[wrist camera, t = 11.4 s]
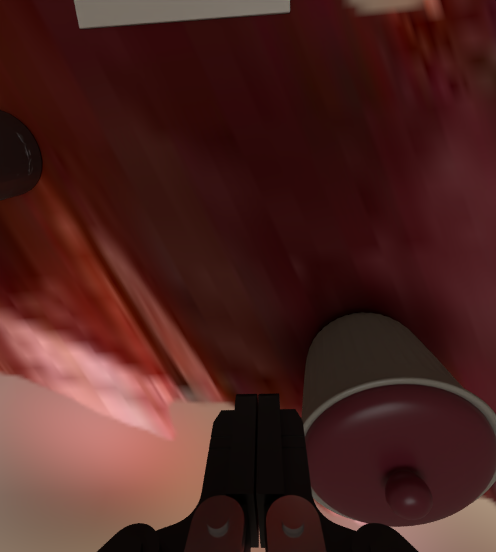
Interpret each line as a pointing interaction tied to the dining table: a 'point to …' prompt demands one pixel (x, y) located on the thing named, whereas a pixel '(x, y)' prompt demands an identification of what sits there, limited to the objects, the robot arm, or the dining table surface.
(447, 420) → the canister
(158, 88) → the dining table surface
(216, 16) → the placemat
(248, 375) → the dining table surface
